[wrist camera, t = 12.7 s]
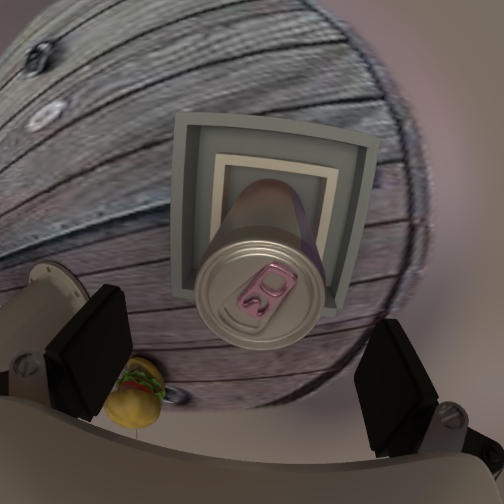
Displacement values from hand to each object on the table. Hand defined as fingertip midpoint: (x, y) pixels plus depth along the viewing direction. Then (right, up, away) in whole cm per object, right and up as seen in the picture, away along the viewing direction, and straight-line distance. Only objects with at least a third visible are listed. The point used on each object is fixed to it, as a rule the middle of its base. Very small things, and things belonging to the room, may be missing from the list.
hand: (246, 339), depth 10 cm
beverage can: (+2, +7, +16) cm, 18 cm away
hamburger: (-14, -14, +27) cm, 34 cm away
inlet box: (+2, +7, +17) cm, 18 cm away
